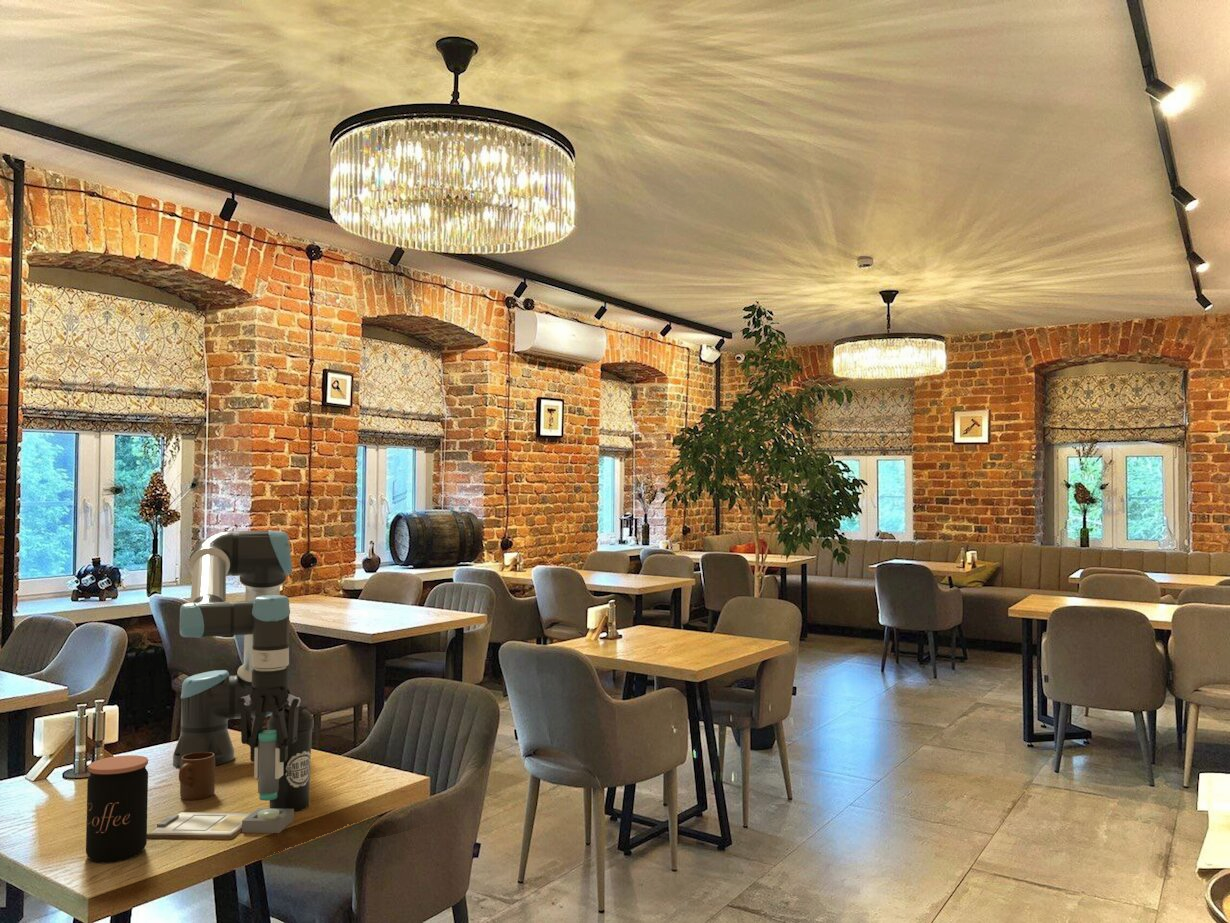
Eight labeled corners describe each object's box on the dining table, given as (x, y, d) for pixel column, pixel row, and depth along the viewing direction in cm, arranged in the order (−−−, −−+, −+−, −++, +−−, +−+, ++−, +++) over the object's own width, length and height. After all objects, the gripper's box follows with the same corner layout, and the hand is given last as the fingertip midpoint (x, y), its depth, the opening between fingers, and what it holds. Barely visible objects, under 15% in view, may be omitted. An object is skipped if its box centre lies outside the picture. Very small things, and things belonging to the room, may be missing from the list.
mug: (196, 807, 216) (197, 765, 217) (164, 806, 217) (164, 765, 217) (220, 791, 228) (221, 751, 229) (189, 790, 229) (190, 751, 229)
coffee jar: (72, 862, 183) (74, 768, 184) (111, 842, 194) (113, 753, 194) (121, 866, 181) (123, 771, 182) (158, 846, 192) (160, 756, 193)
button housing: (257, 819, 208) (257, 808, 208) (293, 820, 207) (293, 808, 207) (241, 832, 200) (241, 820, 200) (279, 833, 199) (279, 821, 199)
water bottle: (282, 817, 209) (284, 712, 210) (256, 808, 216) (258, 706, 216) (321, 805, 217) (323, 704, 218) (295, 797, 224) (296, 698, 225)
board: (179, 815, 210) (179, 808, 211) (259, 816, 210) (259, 809, 210) (145, 838, 196) (146, 830, 197) (230, 839, 196) (231, 831, 196)
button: (262, 822, 206) (262, 808, 206) (282, 823, 206) (282, 809, 206) (253, 829, 201) (254, 815, 201) (274, 830, 201) (274, 815, 201)
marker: (263, 794, 206) (264, 729, 207) (282, 795, 206) (283, 730, 206) (253, 800, 202) (254, 734, 202) (273, 801, 202) (274, 735, 202)
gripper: (224, 670, 202) (222, 781, 201) (302, 671, 201) (300, 782, 200) (239, 663, 209) (238, 770, 208) (315, 665, 208) (313, 772, 208)
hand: (268, 776), depth 204 cm, fingers closed on marker, 4 cm apart
